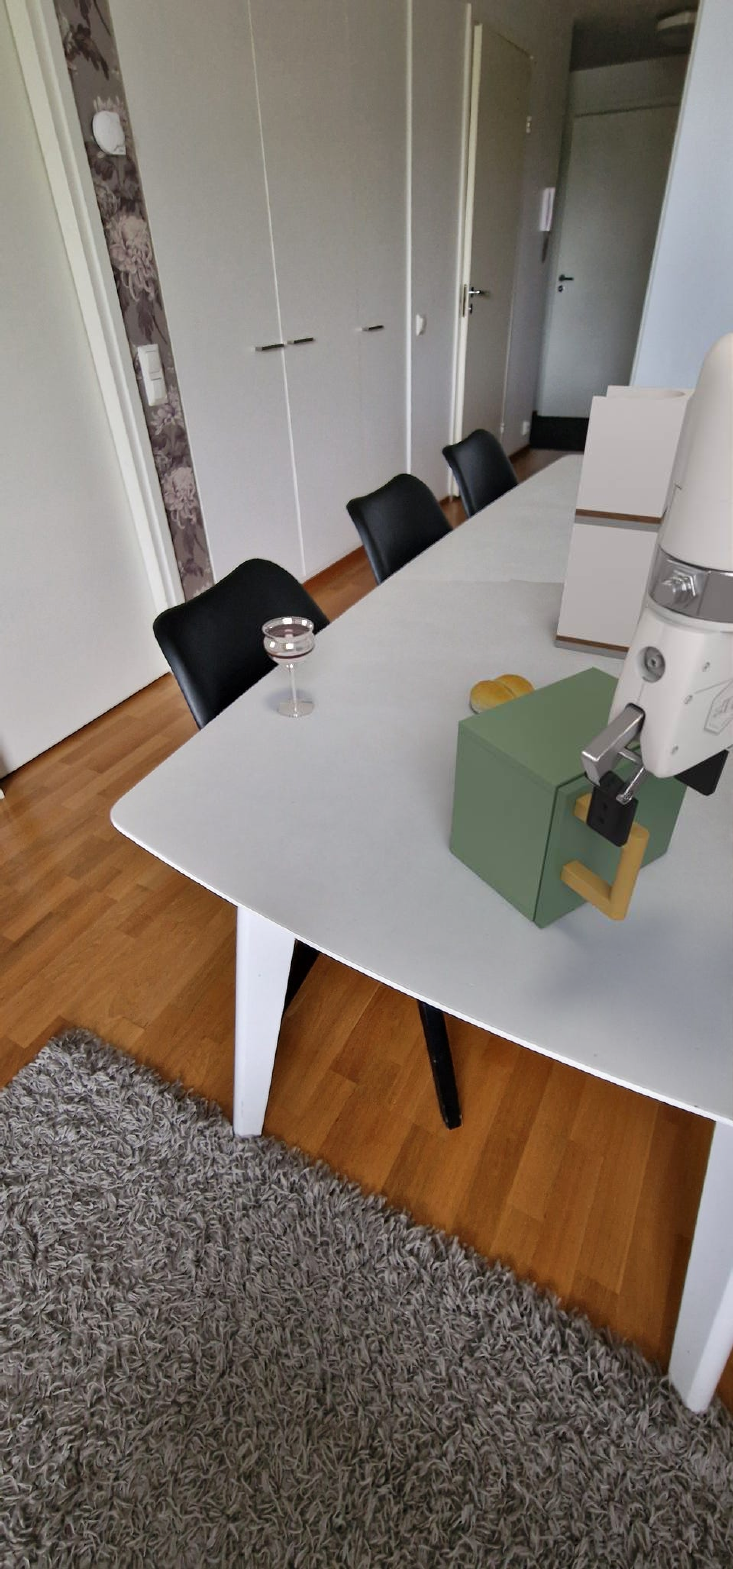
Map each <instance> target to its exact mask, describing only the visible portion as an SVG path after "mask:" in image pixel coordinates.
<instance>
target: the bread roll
mask: <svg viewBox="0 0 733 1569" xmlns="http://www.w3.org/2000/svg"><path fill="white" fill-rule="evenodd" d="M535 690H536V689H535V688H534V686H533V684H531V683H530V681H529V680H527V679H526V678H525V677H523V676H521V675H518V674H511V673H507V674H503V675H499V676H498V677H496V678H495V679H494V680H490V679H487V680H482V681H479V682H478V683H476V684H475V685H474V686H473V687H472V688H471V691H470V694H469V702H470V706H471V708H472V709H473V711H475V713H477V714H478V713H481V712H483V711H486V710H488V709H491V708H493V707H496V706H498V705H501V704H503V703H506V702H508V701H510V700H513V699H515V698H518V697H520V696H523V695H525V694H528V693H530V692H533V691H535Z"/></svg>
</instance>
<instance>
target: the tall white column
mask: <svg viewBox="0 0 733 1569" xmlns="http://www.w3.org/2000/svg"><path fill="white" fill-rule="evenodd" d="M695 389H696V388H682V387H681V388H680V387H660V386H659V387H658V386H657V387H656V386H634V385H612V384H611V385H608V386H607V390H606V396H603V395H593V396H592V401H591V407H590V414H589V420H588V426H587V433H586V440H585V445H584V446H585V447H584V452H583V459H582V464H581V465H582V466H581V472H580V479H579V486H578V491H577V492H578V493H577V499H576V504H575V505H576V506H575V512H574V519H573V524H572V531H571V536H570V537H571V538H570V544H569V552H568V558H567V564H566V569H565V570H566V571H565V576H564V584H563V591H562V597H561V604H560V610H559V615H558V616H559V617H558V622H557V623H558V624H557V631H556V635H555V636H556V637H555V643H554V648H560V649H565V650H570V651H576V652H582V653H587V654H593V655H599V656H604V657H609V658H615V659H621V660H625V659H626V656H627V653H628V650H629V647H630V644H631V642H632V639H633V636H634V634H635V631H636V628H637V626H638V624H639V621H640V619H641V616H642V614H643V611H644V609H645V608H646V607H647V606H648V604H647V602H646V594H647V590H648V586H649V581H650V577H651V573H652V569H653V565H654V560H655V556H656V552H657V548H658V544H659V540H660V536H661V532H662V527H663V523H664V519H665V515H666V511H667V506H668V502H669V498H670V494H671V490H672V485H673V481H674V477H675V473H676V469H677V464H678V460H679V456H680V452H681V448H682V443H683V439H684V435H685V431H686V426H687V422H688V418H689V414H690V410H691V405H692V401H693V397H694V393H695Z"/></svg>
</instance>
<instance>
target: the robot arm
mask: <svg viewBox="0 0 733 1569" xmlns="http://www.w3.org/2000/svg"><path fill="white" fill-rule="evenodd" d="M694 389H695V393H694V397H693V401H692V405H691V410H690V414H689V418H688V422H687V426H686V431H685V435H684V439H683V443H682V448H681V452H680V456H679V460H678V464H677V469H676V473H675V477H674V481H673V485H672V490H671V494H670V498H669V502H668V506H667V511H666V515H665V519H664V523H663V527H662V532H661V536H660V540H659V544H658V548H657V552H656V556H655V560H654V565H653V569H652V573H651V577H650V581H649V586H648V590H647V594H646V602H647V605H646V608H645V609H644V611H643V614H642V616H641V619H640V621H639V624H638V626H637V628H636V631H635V634H634V636H633V639H632V642H631V644H630V647H629V650H628V653H627V656H626V659H624V661H623V664H622V667H621V671H620V673H619V678H618V679H619V681H618V684H617V688H616V691H615V694H614V698H613V702H612V706H611V710H610V715H609V719H608V725H607V727H606V728H605V729H604V730H603V731H602V732H601V733H600V734H599V735H598V736H597V737H596V738H595V739H594V740H593V741H592V742H591V743H590V744H589V745H587V746H586V747H585V749H584V750H583V751H582V754H581V759H582V763H583V766H584V769H585V772H584V776H585V778H587V779H588V780H589V781H590V783H591V784H592V785H594V788H593V792H592V796H591V801H590V805H589V809H588V814H587V818H586V824H587V825H588V826H589V827H590V828H591V829H593V830H594V831H595V832H597V833H598V834H600V835H601V836H603V837H604V838H605V839H607V840H608V841H610V842H611V843H613V844H614V845H616V846H617V847H621V846H623V845H625V844H626V843H627V841H628V837H629V834H630V830H631V827H632V823H633V820H634V816H635V813H636V809H637V806H638V802H639V801H638V800H637V799H636V798H634V795H635V794H636V793H637V791H638V790H639V788H640V787H641V786H642V784H643V783H644V781H645V780H646V779H647V777H648V776H649V774H650V773H653V774H654V776H656V777H658V778H666V777H670V776H673V775H674V778H675V779H677V780H678V781H680V782H682V783H683V784H685V785H687V787H689V788H690V789H692V790H694V791H696V792H697V793H699V794H700V795H703V796H705V797H710V796H711V795H713V794H714V793H715V792H716V789H717V787H718V784H719V781H720V779H721V775H722V773H723V770H724V768H725V765H726V762H727V759H728V757H729V754H730V750H727V749H731V748H732V747H733V331H732V332H730V333H726V334H725V335H723V336H722V337H720V338H719V339H718V340H716V341H715V342H714V344H713V345H711V347H710V348H709V350H708V351H707V353H706V354H705V357H704V358H703V361H702V363H701V366H700V370H699V373H698V377H697V380H696V385H695V388H694ZM635 741H636V742H638V743H640V746H641V754H642V756H641V755H639V754H638V753H636V752H634V751H632V750H631V749H629V748H627V747H628V745H629V744H631V743H633V742H635ZM623 757H624V758H626V759H627V760H629V761H631V762H633V763H634V764H636V765H637V766H636V767H635V768H634V770H633V771H632V773H631V774H630V775H629V777H628V778H627V780H626V781H625V782H624V781H623V780H622V779H621V778H620V777H619V776H618V775H617V774H615V773H614V772H613V770H614V769H615V768H616V766H617V765H618V763H619V762H620V760H621V759H622V758H623Z"/></svg>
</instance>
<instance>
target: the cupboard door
mask: <svg viewBox="0 0 733 1569" xmlns="http://www.w3.org/2000/svg"><path fill="white" fill-rule="evenodd" d="M634 752H636V753H638V754H639V755H641V756H642V754H641V748H639V749H637V750H635V751H634ZM636 766H637V765H636V764H634V763H633V762H631V761H629V760H627V759H626V758H624V757H623V758H622V759H621V760H620V762H619V763H618V765H617V766H616V768H615V769H614V770H613V772H614V773H615V774H617V775H618V776H619V777H620V778H621V779H622V780H623V781H624V782H625V781H626V780H627V778H628V777H629V775H630V774H631V773H632V771H633V770H634V768H635V767H636ZM593 788H594V785H592V784H591V783H590V781H589V780H588V779H587V778H585V776H583V777H581V778H579V779H577V780H575V781H573V782H571V783H569V784H567V785H565V786H563V787H561V788H559V789H558V792H557V798H556V803H555V809H554V815H553V820H552V826H551V831H550V837H549V843H548V848H547V854H546V859H545V865H544V871H543V876H542V882H541V887H540V893H539V899H538V904H537V910H536V916H535V920H534V921H533V922H534V924H535V925H536V926H538V927H539V929H541V930H543V929H544V928H546V927H548V926H549V925H551V924H553V923H554V922H556V921H557V920H559V919H560V918H562V917H563V916H566V914H569V913H570V912H573V910H575V909H577V908H578V907H580V906H581V905H583V904H584V903H587V902H589V903H590V904H591V905H592V906H594V907H595V908H596V909H597V910H599V911H600V912H601V913H603V915H605V916H607V917H608V918H609V919H611V920H613V921H617V922H621V921H623V920H625V919H626V917H627V914H628V911H629V906H630V904H631V900H632V897H633V893H634V890H635V886H636V883H637V880H638V875H639V872H640V869H642V868H643V867H645V866H646V865H648V864H650V863H652V862H653V861H655V860H657V859H658V858H660V857H661V856H663V855H665V854H666V853H668V849H669V846H670V843H671V840H672V836H673V833H674V830H675V827H676V823H677V821H678V817H679V815H680V812H681V808H682V805H683V802H684V798H685V795H686V792H687V789H688V786H687V785H685V784H683V783H682V782H680V781H678V780H677V779H675V778H674V775H673V776H670V777H666V778H658V777H656V776H654V774H653V773H650V774H649V776H648V777H647V779H646V780H645V781H644V783H643V784H642V786H641V787H640V788H639V790H638V791H637V793H636V794H635V795H634V798H636V799H637V800H638V801H639V802H638V806H637V809H636V813H635V816H634V820H633V823H632V827H631V830H630V834H629V837H628V841H627V843H626V844H625V845H623V846H621V847H617V846H616V845H614V844H613V843H611V842H610V841H608V840H607V839H605V838H604V837H603V836H601V835H600V834H598V833H597V832H595V831H594V830H593V829H591V828H590V827H589V826H588V825H587V824H586V818H587V814H588V809H589V805H590V801H591V796H592V792H593Z"/></svg>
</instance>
